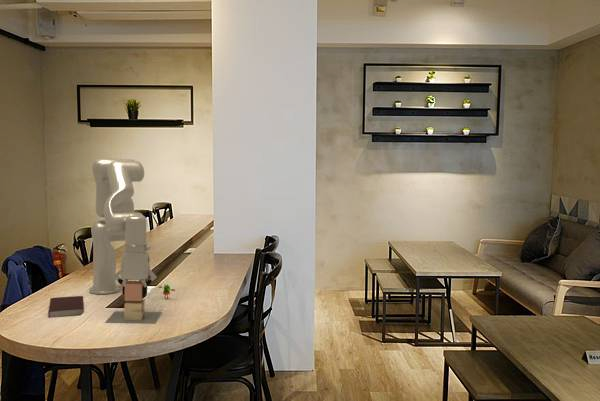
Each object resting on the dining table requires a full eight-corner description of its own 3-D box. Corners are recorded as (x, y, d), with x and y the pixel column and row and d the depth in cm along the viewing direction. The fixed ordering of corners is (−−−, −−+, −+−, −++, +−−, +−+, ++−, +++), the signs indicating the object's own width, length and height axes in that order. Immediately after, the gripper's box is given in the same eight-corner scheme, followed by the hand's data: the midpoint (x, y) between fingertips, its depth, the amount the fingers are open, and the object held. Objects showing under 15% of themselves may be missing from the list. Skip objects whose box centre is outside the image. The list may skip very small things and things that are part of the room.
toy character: (168, 304, 224) (169, 289, 223) (148, 299, 230) (148, 284, 229) (187, 299, 233) (187, 284, 233) (166, 294, 239) (167, 279, 239)
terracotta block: (128, 296, 203) (128, 280, 203) (144, 296, 204) (144, 281, 203) (124, 300, 197) (124, 284, 197) (141, 301, 198) (141, 284, 197)
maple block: (128, 314, 204) (128, 299, 203) (144, 314, 204) (144, 299, 204) (124, 319, 198) (124, 303, 197) (141, 319, 198) (141, 303, 198)
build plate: (114, 313, 208) (114, 311, 207) (162, 314, 209) (162, 312, 209) (104, 325, 194) (104, 322, 194) (155, 326, 195) (155, 323, 195)
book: (47, 319, 200) (47, 310, 199) (50, 304, 217) (50, 296, 217) (84, 316, 205) (84, 308, 204) (83, 302, 222) (83, 294, 222)
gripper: (161, 247, 203) (160, 294, 205) (114, 246, 202) (113, 293, 204) (157, 251, 196) (156, 299, 198) (108, 250, 195) (108, 298, 196)
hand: (134, 296), depth 201 cm, fingers closed on terracotta block, 6 cm apart
